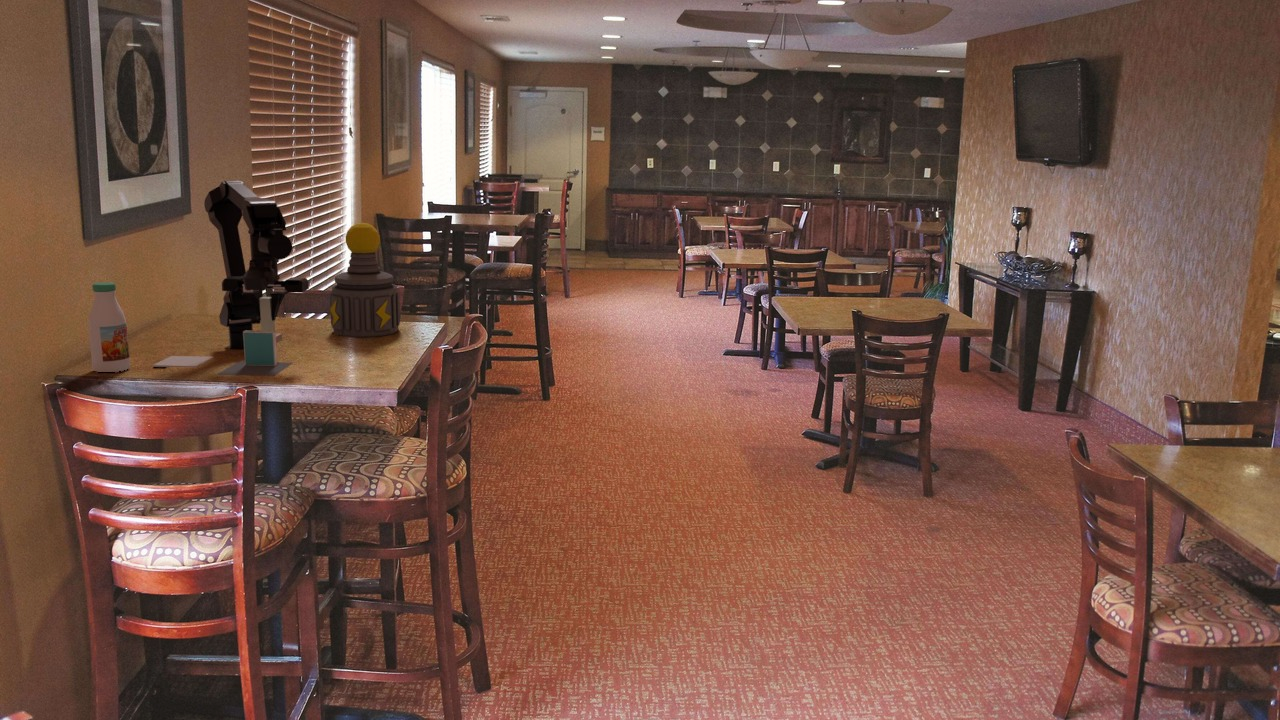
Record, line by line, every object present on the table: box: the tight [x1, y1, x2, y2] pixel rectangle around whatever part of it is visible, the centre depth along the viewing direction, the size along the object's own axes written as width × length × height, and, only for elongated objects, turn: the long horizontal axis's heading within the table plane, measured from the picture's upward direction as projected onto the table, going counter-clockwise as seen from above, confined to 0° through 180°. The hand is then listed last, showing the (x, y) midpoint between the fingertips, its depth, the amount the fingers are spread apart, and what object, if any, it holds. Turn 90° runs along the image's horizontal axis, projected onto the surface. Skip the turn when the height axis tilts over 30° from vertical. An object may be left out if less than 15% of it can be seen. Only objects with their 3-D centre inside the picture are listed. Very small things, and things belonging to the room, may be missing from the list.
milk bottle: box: [88, 281, 131, 373], centre depth 234 cm, size 8×8×20 cm
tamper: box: [260, 296, 283, 344], centre depth 246 cm, size 4×5×10 cm
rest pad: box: [152, 355, 214, 368], centre depth 244 cm, size 10×10×1 cm
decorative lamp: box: [329, 222, 401, 338], centre depth 283 cm, size 19×19×30 cm
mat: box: [217, 361, 293, 377], centre depth 239 cm, size 13×13×1 cm
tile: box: [243, 330, 278, 366], centre depth 241 cm, size 2×7×8 cm, turn 90°
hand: (267, 320), depth 246 cm, fingers closed on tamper, 2 cm apart
